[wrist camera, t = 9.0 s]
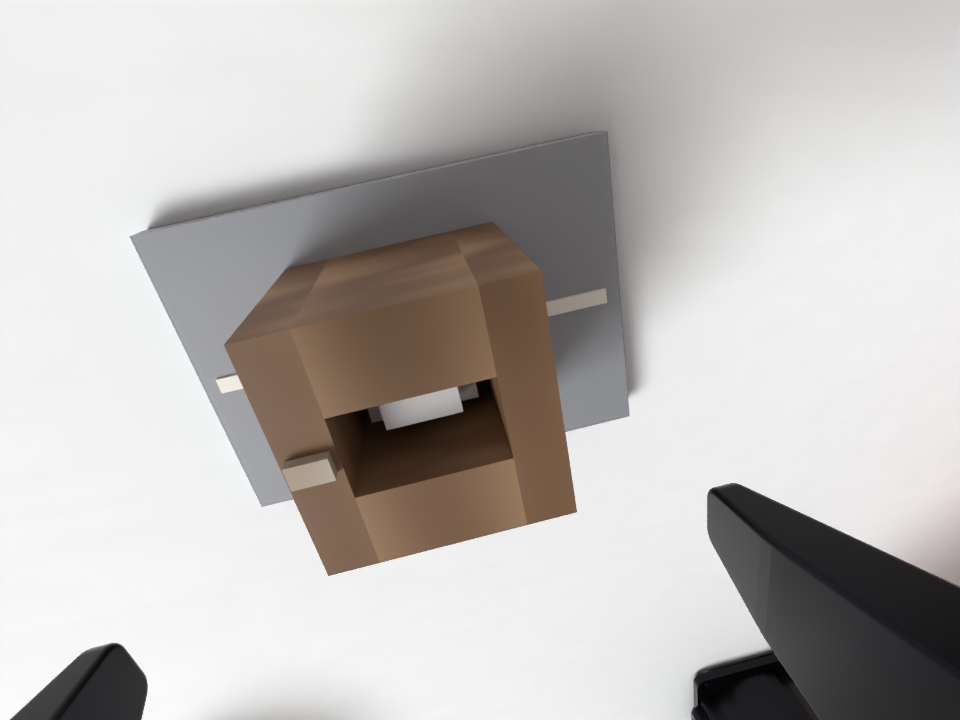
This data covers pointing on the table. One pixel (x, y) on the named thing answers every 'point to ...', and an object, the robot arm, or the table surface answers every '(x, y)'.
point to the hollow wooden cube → (409, 394)
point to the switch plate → (394, 219)
